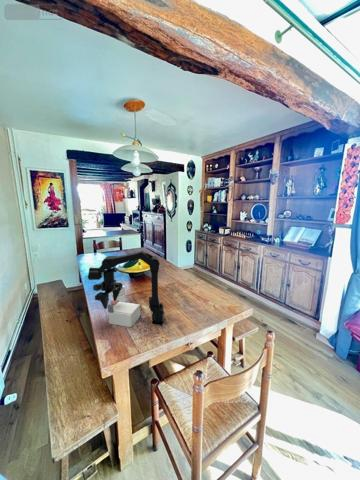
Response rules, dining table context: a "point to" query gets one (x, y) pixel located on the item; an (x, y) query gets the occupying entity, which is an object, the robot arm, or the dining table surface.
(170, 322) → the dining table surface
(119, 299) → the ink cartridge box
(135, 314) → the carton
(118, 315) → the front flap
